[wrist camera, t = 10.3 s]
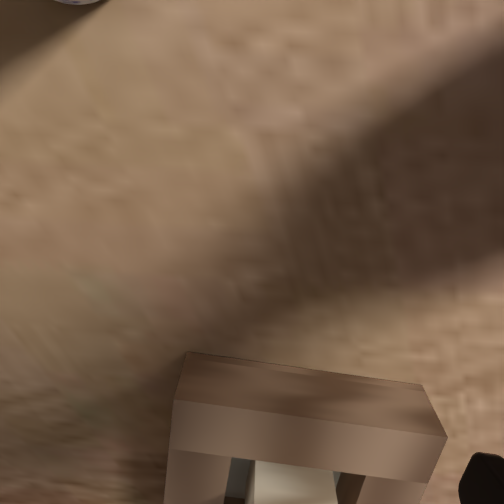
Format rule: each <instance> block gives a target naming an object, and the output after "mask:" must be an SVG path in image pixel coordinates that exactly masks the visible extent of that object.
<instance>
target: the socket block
mask: <svg viewBox="0 0 504 504" xmlns="http://www.w3.org/2000/svg"><path fill="white" fill-rule="evenodd" d="M447 438H448V437H447V435H446V433H445V431H444V429H443V427H442V425H441V423H440V421H439V419H438V417H437V415H436V413H435V411H434V409H433V407H432V405H431V403H430V401H429V399H428V397H427V394H426V392H425V390H424V388H423V386H422V385H417V384H410V383H403V382H396V381H389V380H382V379H375V378H368V377H360V376H353V375H346V374H339V373H332V372H325V371H318V370H311V369H304V368H297V367H290V366H283V365H276V364H269V363H262V362H255V361H248V360H241V359H234V358H227V357H220V356H213V355H206V354H199V353H192V352H187V354H186V358H185V361H184V365H183V368H182V371H181V375H180V378H179V382H178V385H177V389H176V392H175V396H174V399H173V409H172V420H171V430H170V441H169V451H168V461H167V472H166V482H165V493H164V503H163V504H245V488H246V480H247V475H248V471H249V466H250V461H251V460H257V461H264V462H271V463H279V464H286V465H293V466H301V467H308V468H315V469H323V470H330V471H333V477H334V483H335V489H336V495H337V501H338V504H419V502H420V500H421V498H422V496H423V493H424V491H425V489H426V486H427V484H428V482H429V480H430V477H431V475H432V473H433V470H434V468H435V466H436V463H437V461H438V459H439V457H440V454H441V452H442V450H443V447H444V445H445V443H446V441H447Z"/></svg>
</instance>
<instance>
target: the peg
mask: <svg viewBox="0 0 504 504" xmlns="http://www.w3.org/2000/svg"><path fill="white" fill-rule="evenodd" d="M245 504H338V501H337V495H336V489H335V483H334V477H333V471H330V470H323V469H315V468H308V467H301V466H293V465H286V464H279V463H271V462H264V461H257V460H251V461H250V466H249V471H248V475H247V480H246V488H245Z"/></svg>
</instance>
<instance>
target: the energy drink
mask: <svg viewBox="0 0 504 504" xmlns="http://www.w3.org/2000/svg"><path fill="white" fill-rule="evenodd" d="M55 1H59V2H62V3H65V4H75V5H82V4H89V3H94V2H97V1H99V0H55Z"/></svg>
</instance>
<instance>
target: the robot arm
mask: <svg viewBox="0 0 504 504" xmlns="http://www.w3.org/2000/svg"><path fill="white" fill-rule="evenodd" d="M458 492H459V499H460V503H461V504H504V458H502V457H501V456H499V455H496V454H489V453H482V452H477V453H475V454H474V455H472V457H471V459H470V461H469V463H468V465H467V467H466V470H465V472H464V474H463V476H462V478H461V480H460V483H459V489H458Z"/></svg>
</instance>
